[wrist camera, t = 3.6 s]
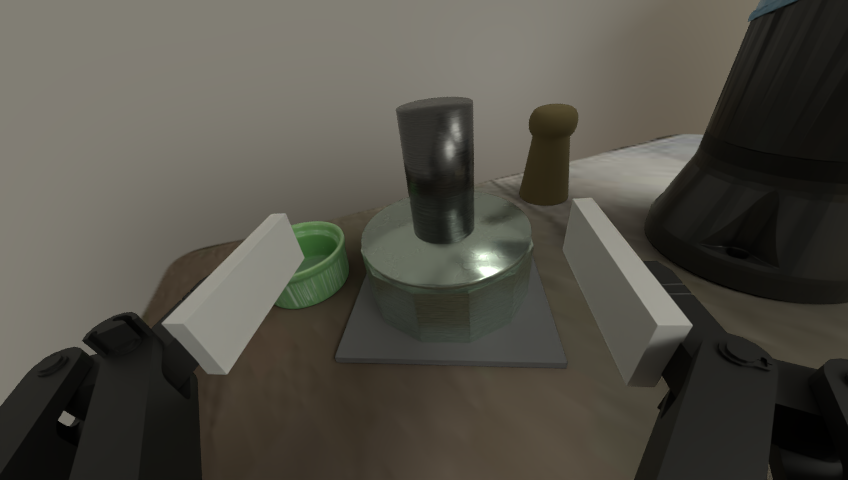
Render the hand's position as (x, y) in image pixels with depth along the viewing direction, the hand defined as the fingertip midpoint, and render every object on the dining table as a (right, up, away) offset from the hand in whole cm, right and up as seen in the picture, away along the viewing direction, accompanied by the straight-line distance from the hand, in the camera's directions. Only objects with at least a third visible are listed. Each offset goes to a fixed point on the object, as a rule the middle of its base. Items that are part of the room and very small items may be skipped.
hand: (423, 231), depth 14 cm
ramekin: (-11, -5, +16) cm, 20 cm away
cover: (+2, -4, +13) cm, 14 cm away
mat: (+2, -5, +13) cm, 14 cm away
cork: (+16, +5, +26) cm, 31 cm away
